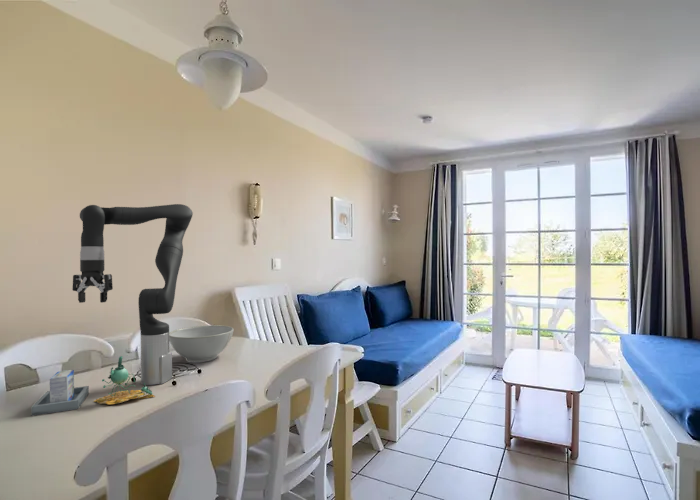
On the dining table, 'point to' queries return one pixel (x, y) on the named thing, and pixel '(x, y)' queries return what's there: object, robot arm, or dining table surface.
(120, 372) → the frog figurine
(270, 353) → the dining table surface
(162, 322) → the robot arm
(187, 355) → the decorative bowl
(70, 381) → the medicine box
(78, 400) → the tray
